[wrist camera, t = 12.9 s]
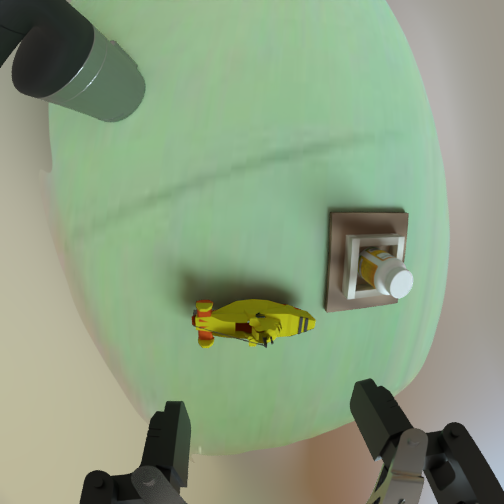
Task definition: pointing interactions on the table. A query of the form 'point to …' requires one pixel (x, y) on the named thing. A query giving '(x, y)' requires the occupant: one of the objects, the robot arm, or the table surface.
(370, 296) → the jig board
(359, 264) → the supplement bottle
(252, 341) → the toy boat
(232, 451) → the table surface
